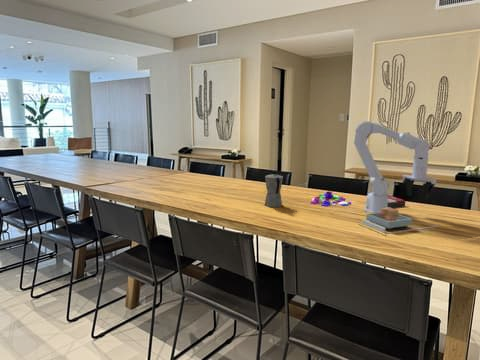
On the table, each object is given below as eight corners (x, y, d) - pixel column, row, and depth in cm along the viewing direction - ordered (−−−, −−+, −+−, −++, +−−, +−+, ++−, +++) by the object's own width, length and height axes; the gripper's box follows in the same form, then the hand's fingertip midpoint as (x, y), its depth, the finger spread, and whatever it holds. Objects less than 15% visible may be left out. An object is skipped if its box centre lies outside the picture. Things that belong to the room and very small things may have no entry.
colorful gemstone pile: (338, 210, 170) (339, 201, 169) (303, 203, 184) (303, 195, 183) (359, 201, 188) (360, 193, 187) (326, 195, 202) (326, 188, 201)
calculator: (390, 201, 171) (368, 194, 185) (389, 210, 172) (367, 202, 186) (406, 200, 175) (383, 192, 189) (405, 208, 176) (382, 200, 190)
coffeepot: (261, 202, 182) (262, 169, 179) (278, 201, 184) (279, 168, 180) (268, 209, 167) (269, 173, 164) (287, 209, 169) (288, 173, 165)
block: (380, 220, 141) (381, 208, 140) (388, 219, 143) (389, 207, 142) (388, 223, 137) (389, 210, 136) (397, 222, 138) (398, 210, 138)
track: (358, 224, 144) (358, 218, 144) (408, 218, 154) (408, 212, 154) (386, 236, 130) (387, 229, 129) (440, 228, 140) (440, 222, 139)
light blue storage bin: (365, 223, 143) (366, 213, 143) (388, 220, 148) (389, 211, 147) (387, 232, 132) (388, 221, 131) (411, 228, 136) (412, 218, 136)
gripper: (399, 165, 156) (397, 195, 158) (430, 169, 144) (427, 201, 146) (408, 165, 160) (406, 193, 162) (440, 168, 147) (436, 199, 150)
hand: (417, 197), depth 154 cm, fingers open, 7 cm apart
